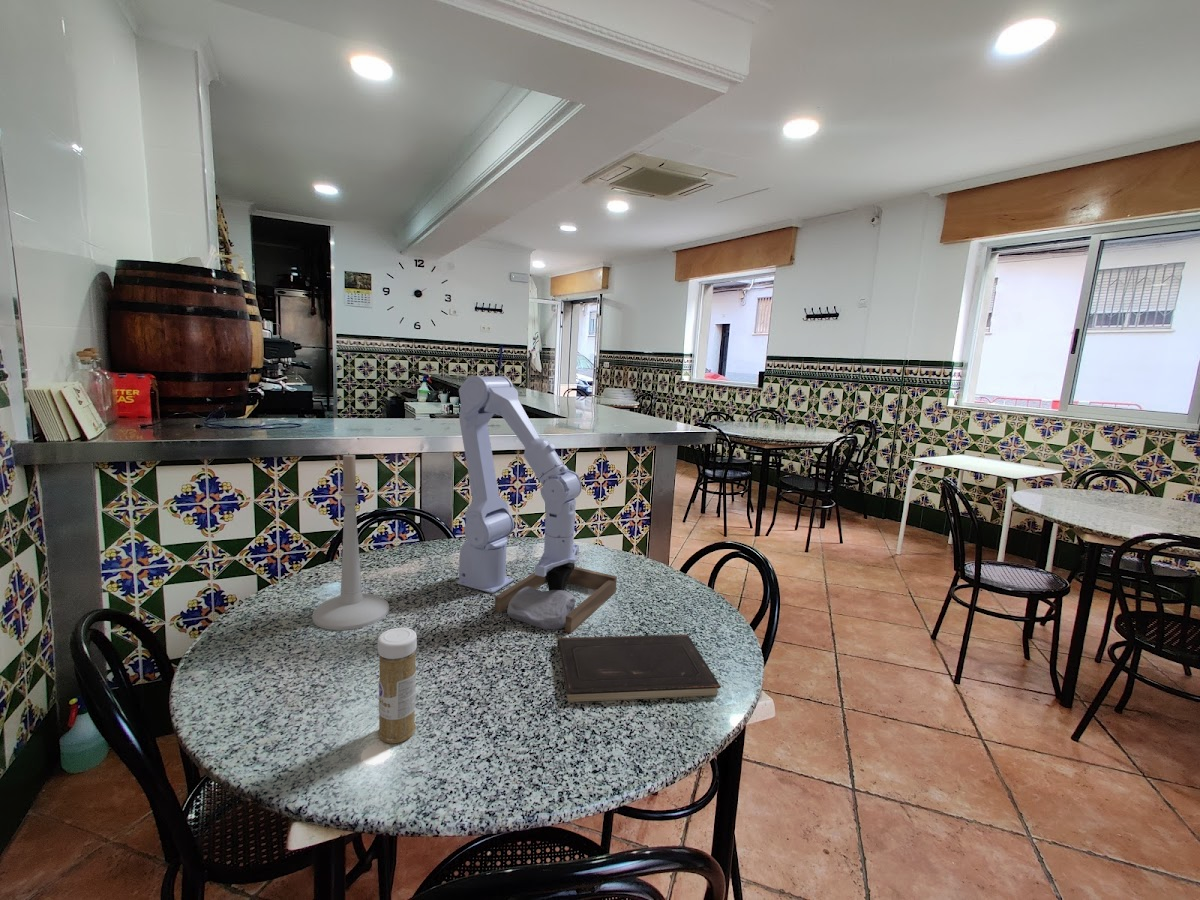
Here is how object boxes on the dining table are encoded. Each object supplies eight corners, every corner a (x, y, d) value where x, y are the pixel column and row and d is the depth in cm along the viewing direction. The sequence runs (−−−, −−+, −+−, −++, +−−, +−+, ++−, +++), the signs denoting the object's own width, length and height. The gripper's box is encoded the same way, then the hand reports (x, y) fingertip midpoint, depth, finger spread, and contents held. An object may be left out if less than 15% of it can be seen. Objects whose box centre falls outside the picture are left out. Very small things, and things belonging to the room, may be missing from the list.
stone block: (563, 641, 98) (577, 607, 107) (562, 619, 96) (576, 586, 105) (501, 632, 100) (520, 600, 109) (499, 611, 99) (519, 580, 108)
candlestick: (388, 625, 96) (387, 459, 91) (307, 634, 92) (301, 459, 87) (389, 595, 108) (388, 446, 103) (317, 601, 103) (313, 446, 99)
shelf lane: (494, 611, 104) (495, 594, 103) (548, 575, 122) (549, 560, 122) (570, 633, 97) (571, 615, 96) (615, 591, 116) (616, 576, 115)
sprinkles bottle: (371, 733, 69) (370, 634, 67) (404, 716, 72) (404, 622, 70) (390, 750, 66) (389, 648, 64) (423, 732, 69) (424, 635, 67)
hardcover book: (719, 700, 81) (720, 685, 81) (566, 707, 77) (567, 692, 77) (685, 644, 97) (686, 632, 96) (556, 648, 93) (557, 635, 92)
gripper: (559, 547, 98) (556, 617, 100) (593, 527, 111) (589, 589, 113) (526, 540, 101) (523, 608, 103) (563, 521, 114) (560, 582, 116)
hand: (556, 598), depth 108 cm, fingers closed
